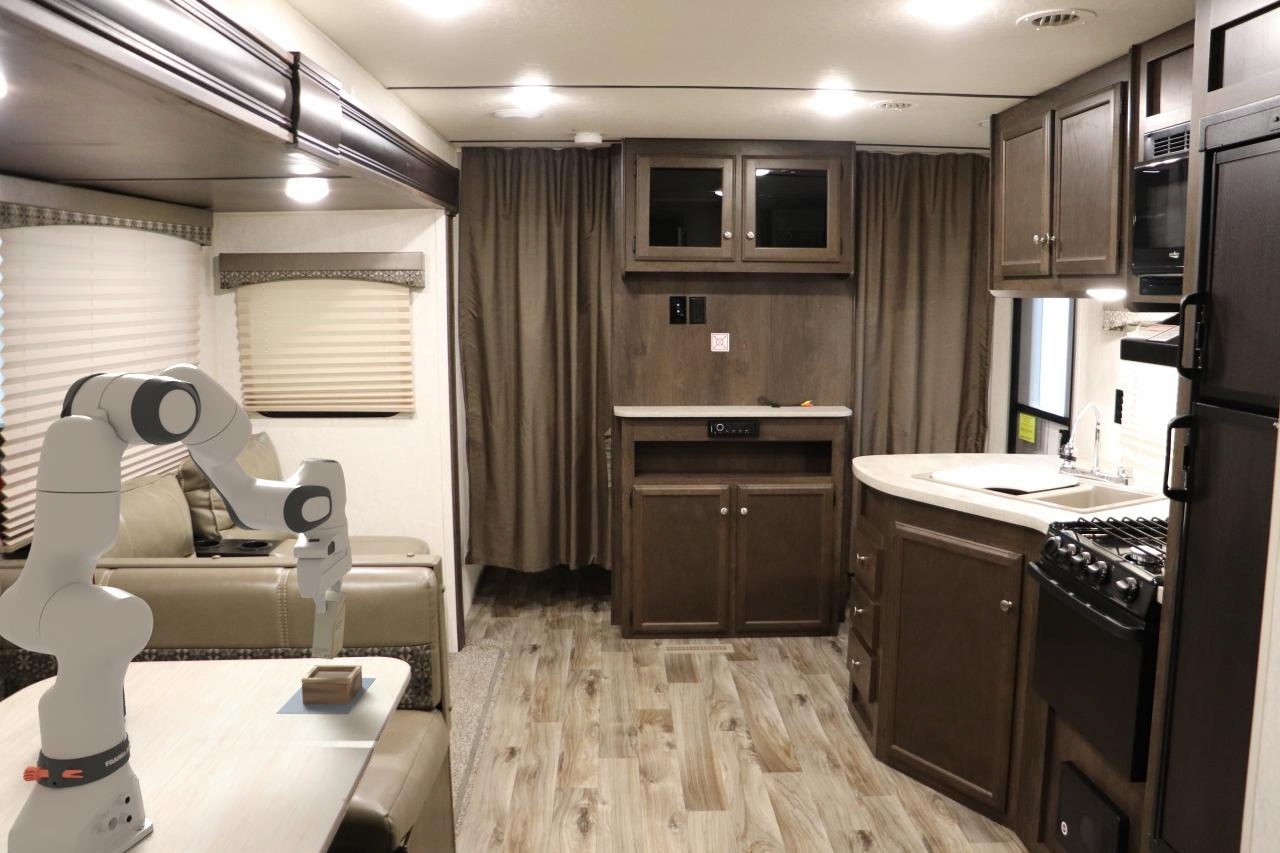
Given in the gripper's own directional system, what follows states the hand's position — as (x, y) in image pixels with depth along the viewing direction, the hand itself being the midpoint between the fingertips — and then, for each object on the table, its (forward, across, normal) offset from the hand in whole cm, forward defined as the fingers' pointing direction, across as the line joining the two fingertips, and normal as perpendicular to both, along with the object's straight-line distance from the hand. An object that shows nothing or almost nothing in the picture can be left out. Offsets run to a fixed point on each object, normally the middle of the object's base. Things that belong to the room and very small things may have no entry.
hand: (328, 606), depth 199 cm
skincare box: (+10, 0, -1) cm, 10 cm away
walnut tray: (+18, 0, 0) cm, 19 cm away
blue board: (+20, 0, -1) cm, 20 cm away
